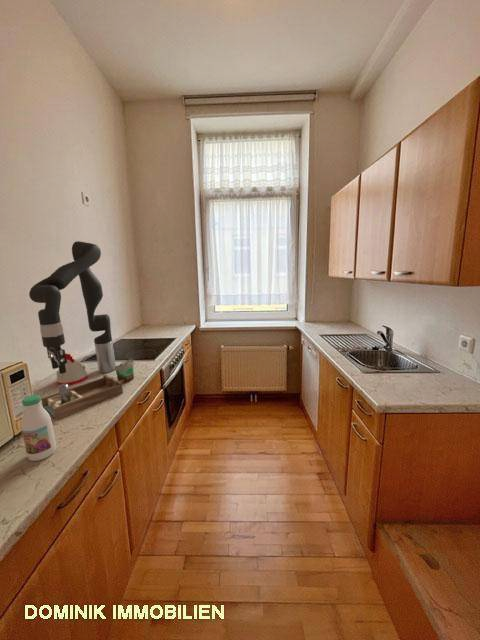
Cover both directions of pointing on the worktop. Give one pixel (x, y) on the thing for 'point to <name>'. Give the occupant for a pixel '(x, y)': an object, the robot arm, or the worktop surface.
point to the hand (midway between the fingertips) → (59, 370)
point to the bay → (86, 396)
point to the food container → (125, 371)
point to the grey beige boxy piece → (63, 397)
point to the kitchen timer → (72, 372)
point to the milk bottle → (37, 429)
